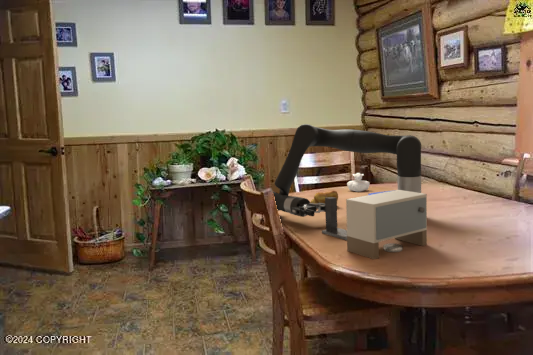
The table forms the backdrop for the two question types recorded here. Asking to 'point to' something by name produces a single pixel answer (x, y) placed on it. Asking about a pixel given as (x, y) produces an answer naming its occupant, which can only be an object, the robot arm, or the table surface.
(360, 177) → the white animal figurine
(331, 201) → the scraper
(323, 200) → the bread roll
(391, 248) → the steel token
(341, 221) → the table surface
